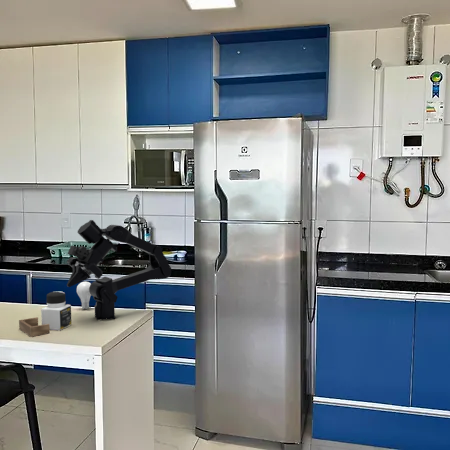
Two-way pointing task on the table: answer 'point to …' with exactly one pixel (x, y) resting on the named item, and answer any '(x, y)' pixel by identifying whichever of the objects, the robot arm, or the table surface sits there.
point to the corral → (33, 327)
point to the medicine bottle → (56, 311)
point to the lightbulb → (84, 293)
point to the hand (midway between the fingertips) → (67, 286)
